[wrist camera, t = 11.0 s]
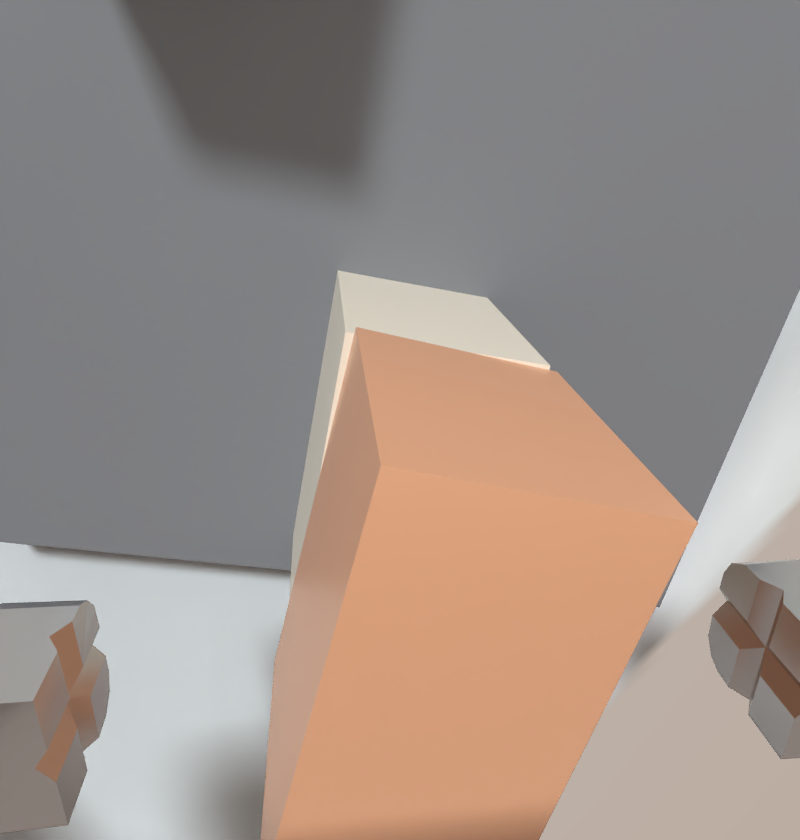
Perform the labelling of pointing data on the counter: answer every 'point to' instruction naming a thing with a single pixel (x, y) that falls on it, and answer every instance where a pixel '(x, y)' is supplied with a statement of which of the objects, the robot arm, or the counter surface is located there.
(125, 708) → the counter surface
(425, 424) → the terracotta brick
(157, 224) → the baseplate
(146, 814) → the counter surface
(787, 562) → the robot arm
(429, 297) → the cream brick
